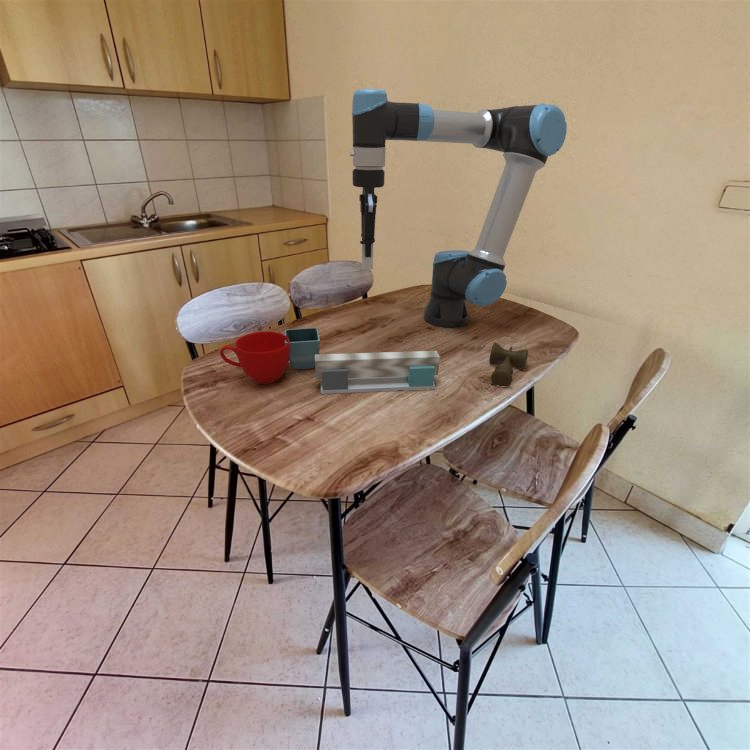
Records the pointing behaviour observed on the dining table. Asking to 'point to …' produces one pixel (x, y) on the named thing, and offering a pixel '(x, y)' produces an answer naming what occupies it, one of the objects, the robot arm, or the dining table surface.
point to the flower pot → (303, 347)
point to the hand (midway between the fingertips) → (367, 268)
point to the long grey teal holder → (376, 381)
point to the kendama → (506, 363)
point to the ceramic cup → (261, 355)
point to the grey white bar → (376, 363)
